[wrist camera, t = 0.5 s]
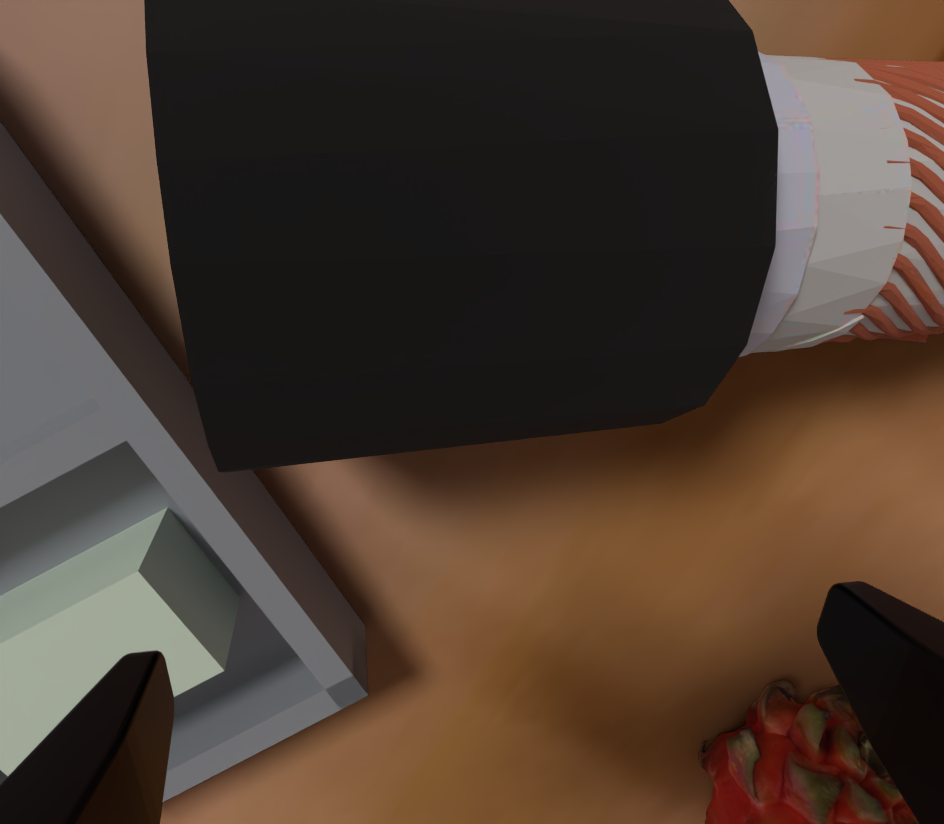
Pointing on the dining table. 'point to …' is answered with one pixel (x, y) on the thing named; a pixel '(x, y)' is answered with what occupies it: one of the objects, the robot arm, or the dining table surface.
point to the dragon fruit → (800, 766)
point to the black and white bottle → (520, 214)
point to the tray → (138, 523)
